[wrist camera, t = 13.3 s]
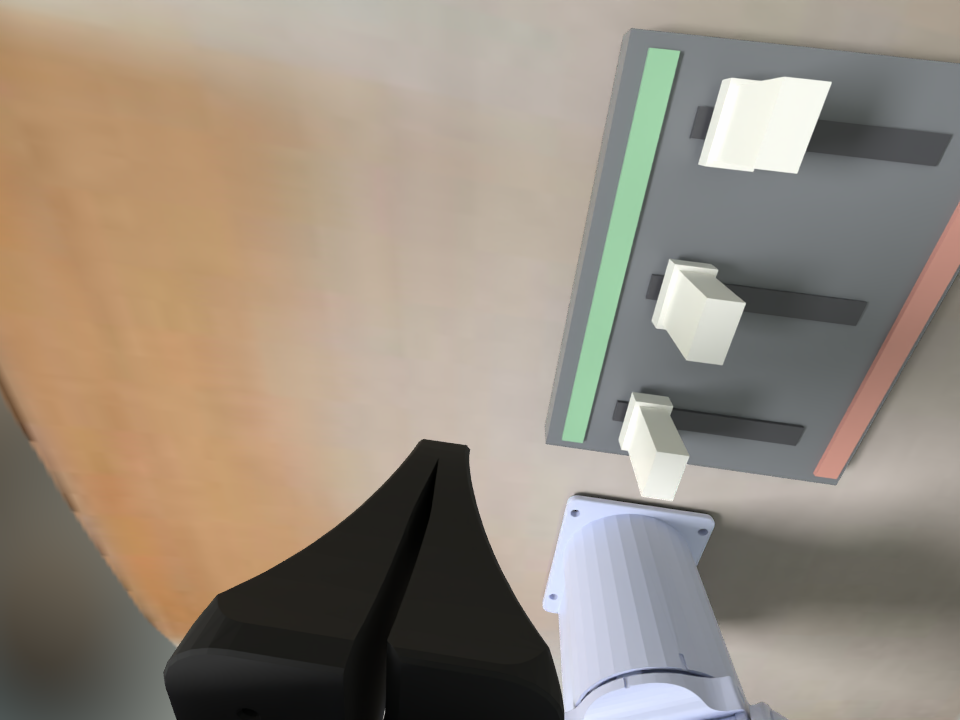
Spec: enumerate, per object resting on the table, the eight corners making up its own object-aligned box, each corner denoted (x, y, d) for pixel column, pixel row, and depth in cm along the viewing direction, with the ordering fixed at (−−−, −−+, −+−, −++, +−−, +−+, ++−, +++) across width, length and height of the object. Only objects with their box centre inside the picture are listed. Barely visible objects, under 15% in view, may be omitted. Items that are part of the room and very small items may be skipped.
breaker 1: (652, 444, 22) (676, 505, 19) (618, 439, 22) (635, 499, 19) (668, 396, 21) (696, 452, 17) (632, 392, 21) (653, 446, 17)
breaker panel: (819, 465, 24) (838, 488, 23) (545, 426, 25) (546, 446, 23) (1028, 79, 16) (1078, 74, 15) (623, 35, 17) (632, 27, 15)
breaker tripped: (690, 325, 19) (726, 371, 16) (651, 320, 20) (678, 364, 16) (711, 263, 18) (755, 297, 15) (669, 258, 18) (703, 291, 15)
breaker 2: (743, 169, 17) (801, 182, 13) (698, 164, 17) (743, 175, 13) (771, 85, 16) (843, 73, 12) (722, 79, 16) (779, 66, 12)
